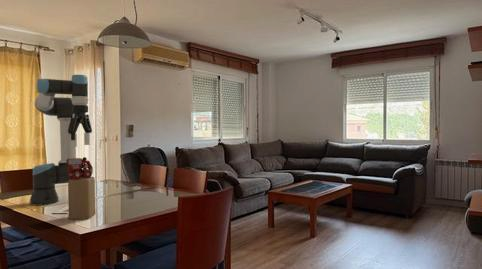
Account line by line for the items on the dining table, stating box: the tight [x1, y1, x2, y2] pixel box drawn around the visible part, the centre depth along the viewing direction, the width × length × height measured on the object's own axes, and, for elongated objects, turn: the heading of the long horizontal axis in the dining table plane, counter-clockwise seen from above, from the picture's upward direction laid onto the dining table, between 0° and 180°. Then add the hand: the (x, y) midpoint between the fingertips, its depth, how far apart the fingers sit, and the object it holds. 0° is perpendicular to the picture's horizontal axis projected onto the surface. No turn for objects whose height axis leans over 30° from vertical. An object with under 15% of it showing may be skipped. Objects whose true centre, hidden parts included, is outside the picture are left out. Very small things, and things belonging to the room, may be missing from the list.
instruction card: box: [53, 205, 69, 213], centre depth 187 cm, size 13×18×1 cm
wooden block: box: [67, 176, 96, 220], centre depth 171 cm, size 10×10×20 cm
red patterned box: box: [67, 156, 94, 179], centre depth 170 cm, size 7×12×10 cm, turn 138°
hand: (80, 145), depth 175 cm, fingers open, 13 cm apart
